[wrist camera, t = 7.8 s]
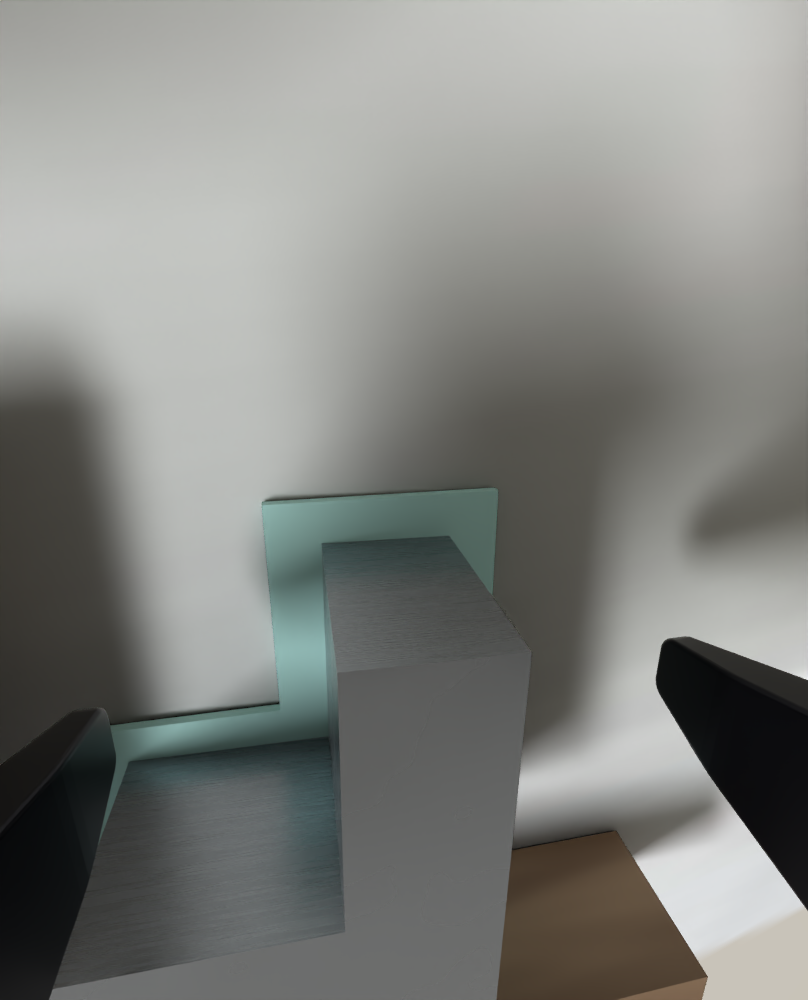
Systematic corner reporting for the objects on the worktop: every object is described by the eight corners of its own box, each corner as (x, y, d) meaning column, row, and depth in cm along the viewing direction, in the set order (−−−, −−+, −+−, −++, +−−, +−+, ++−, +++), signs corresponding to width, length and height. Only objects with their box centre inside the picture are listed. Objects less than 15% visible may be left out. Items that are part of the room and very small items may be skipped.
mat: (476, 827, 14) (478, 835, 14) (112, 893, 12) (110, 901, 12) (494, 487, 11) (498, 490, 11) (21, 516, 9) (15, 520, 9)
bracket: (437, 807, 13) (495, 1005, 9) (146, 853, 12) (77, 1102, 8) (449, 535, 11) (532, 652, 7) (90, 558, 10) (-40, 713, 6)
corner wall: (-220, 437, 8) (-553, 517, 5) (686, 405, 11) (850, 442, 8) (-9, 995, 12) (-117, 1237, 9) (609, 871, 15) (696, 1022, 12)
